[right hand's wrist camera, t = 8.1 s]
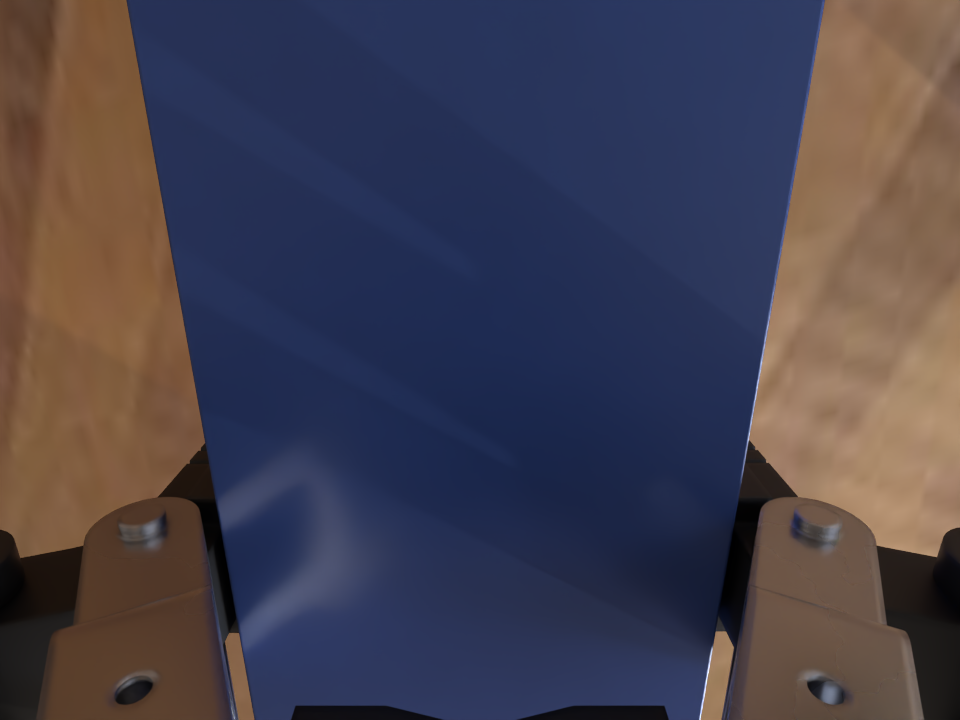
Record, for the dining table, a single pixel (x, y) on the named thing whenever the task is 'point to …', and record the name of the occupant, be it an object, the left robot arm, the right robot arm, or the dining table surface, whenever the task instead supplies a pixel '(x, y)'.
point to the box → (476, 330)
